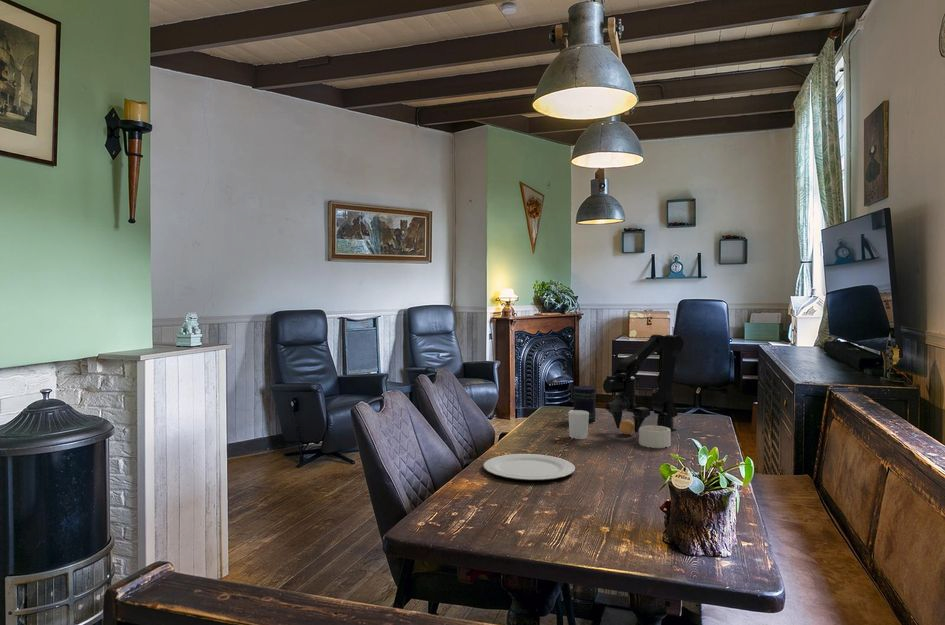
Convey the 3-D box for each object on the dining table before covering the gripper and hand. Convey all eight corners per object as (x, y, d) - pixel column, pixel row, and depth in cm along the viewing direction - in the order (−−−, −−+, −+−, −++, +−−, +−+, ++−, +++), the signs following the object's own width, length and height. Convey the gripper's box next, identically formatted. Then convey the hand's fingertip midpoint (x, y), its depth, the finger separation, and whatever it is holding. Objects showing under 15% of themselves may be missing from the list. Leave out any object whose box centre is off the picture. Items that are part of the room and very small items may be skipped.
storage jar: (597, 423, 271) (597, 389, 270) (574, 423, 271) (575, 389, 270) (593, 419, 281) (593, 385, 280) (571, 418, 281) (571, 385, 280)
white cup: (587, 435, 249) (588, 410, 248) (589, 440, 241) (589, 414, 240) (567, 434, 249) (567, 409, 249) (568, 439, 241) (569, 413, 241)
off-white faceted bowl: (652, 439, 242) (652, 424, 242) (676, 445, 233) (676, 429, 233) (633, 443, 236) (633, 427, 236) (656, 449, 227) (657, 433, 226)
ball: (626, 432, 255) (626, 417, 255) (637, 434, 250) (638, 420, 250) (616, 433, 251) (616, 419, 251) (627, 436, 246) (627, 421, 246)
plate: (582, 463, 208) (582, 458, 208) (565, 489, 181) (565, 483, 181) (498, 455, 218) (498, 450, 218) (470, 479, 190) (470, 473, 190)
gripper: (596, 390, 253) (595, 428, 254) (632, 396, 238) (631, 437, 238) (615, 388, 259) (614, 425, 260) (651, 394, 244) (650, 434, 245)
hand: (627, 430), depth 251 cm, fingers open, 9 cm apart
